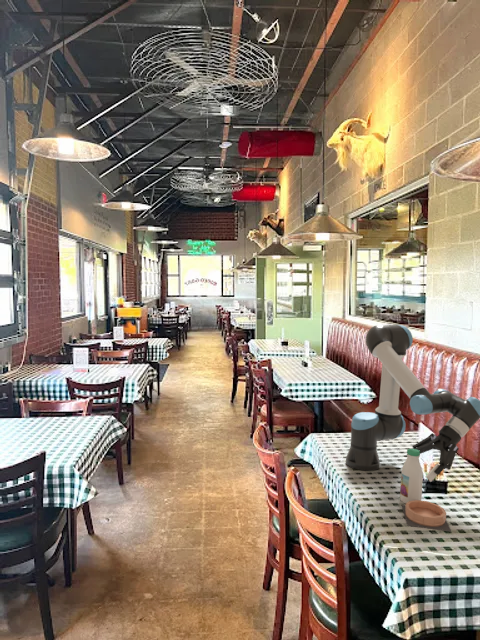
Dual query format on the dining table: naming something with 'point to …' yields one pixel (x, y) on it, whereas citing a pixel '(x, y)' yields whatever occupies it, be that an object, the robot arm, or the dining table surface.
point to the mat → (413, 524)
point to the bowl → (425, 513)
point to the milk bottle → (411, 477)
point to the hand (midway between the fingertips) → (416, 472)
